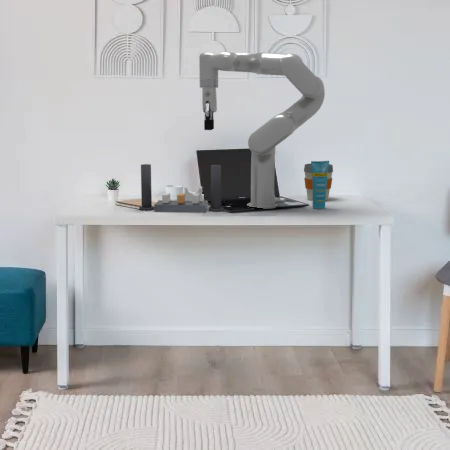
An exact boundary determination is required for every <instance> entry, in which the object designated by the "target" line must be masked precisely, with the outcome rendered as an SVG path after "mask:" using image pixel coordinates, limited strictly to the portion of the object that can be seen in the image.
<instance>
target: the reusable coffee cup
mask: <svg viewBox="0 0 450 450" xmlns="http://www.w3.org/2000/svg"><path fill="white" fill-rule="evenodd" d="M303 172H304V187H305V189H306V197H307V201H311V202H313V184H312V166H311V163H306V164H304V167H303ZM333 172H334V166H333V164H331V163H329V168H328V176H327V187H326V200H325V202H326V201H328V200H329V197H330V190H331V189H332V183H333V178H332V176H333Z"/></svg>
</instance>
